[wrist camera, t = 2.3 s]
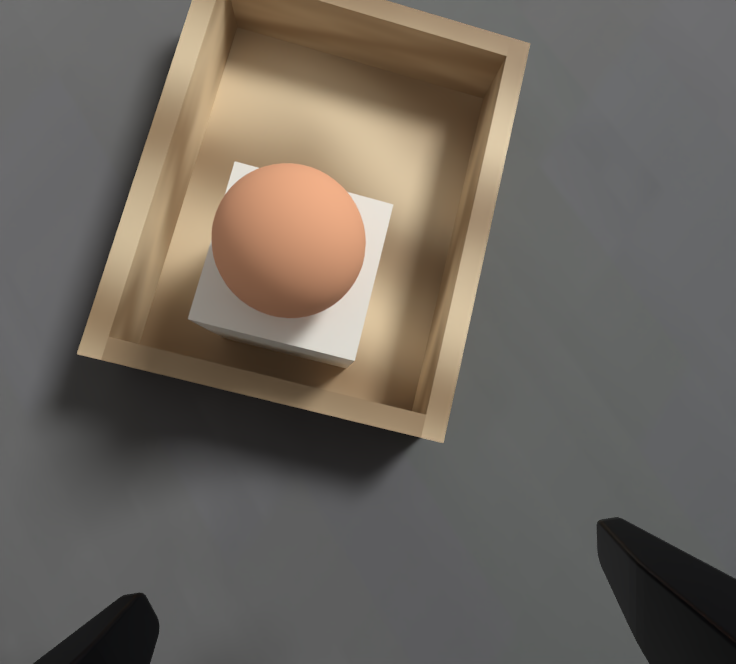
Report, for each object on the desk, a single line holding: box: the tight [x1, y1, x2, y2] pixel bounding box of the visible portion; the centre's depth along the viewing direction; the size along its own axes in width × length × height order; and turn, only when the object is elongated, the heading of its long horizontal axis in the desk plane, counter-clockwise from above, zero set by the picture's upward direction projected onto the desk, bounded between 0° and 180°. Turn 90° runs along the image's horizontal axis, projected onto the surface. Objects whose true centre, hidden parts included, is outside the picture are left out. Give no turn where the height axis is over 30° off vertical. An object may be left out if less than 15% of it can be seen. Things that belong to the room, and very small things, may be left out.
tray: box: [77, 0, 530, 443], centre depth 19 cm, size 16×13×3 cm
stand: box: [188, 161, 393, 368], centre depth 18 cm, size 5×5×6 cm
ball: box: [212, 163, 366, 318], centre depth 13 cm, size 4×4×4 cm
